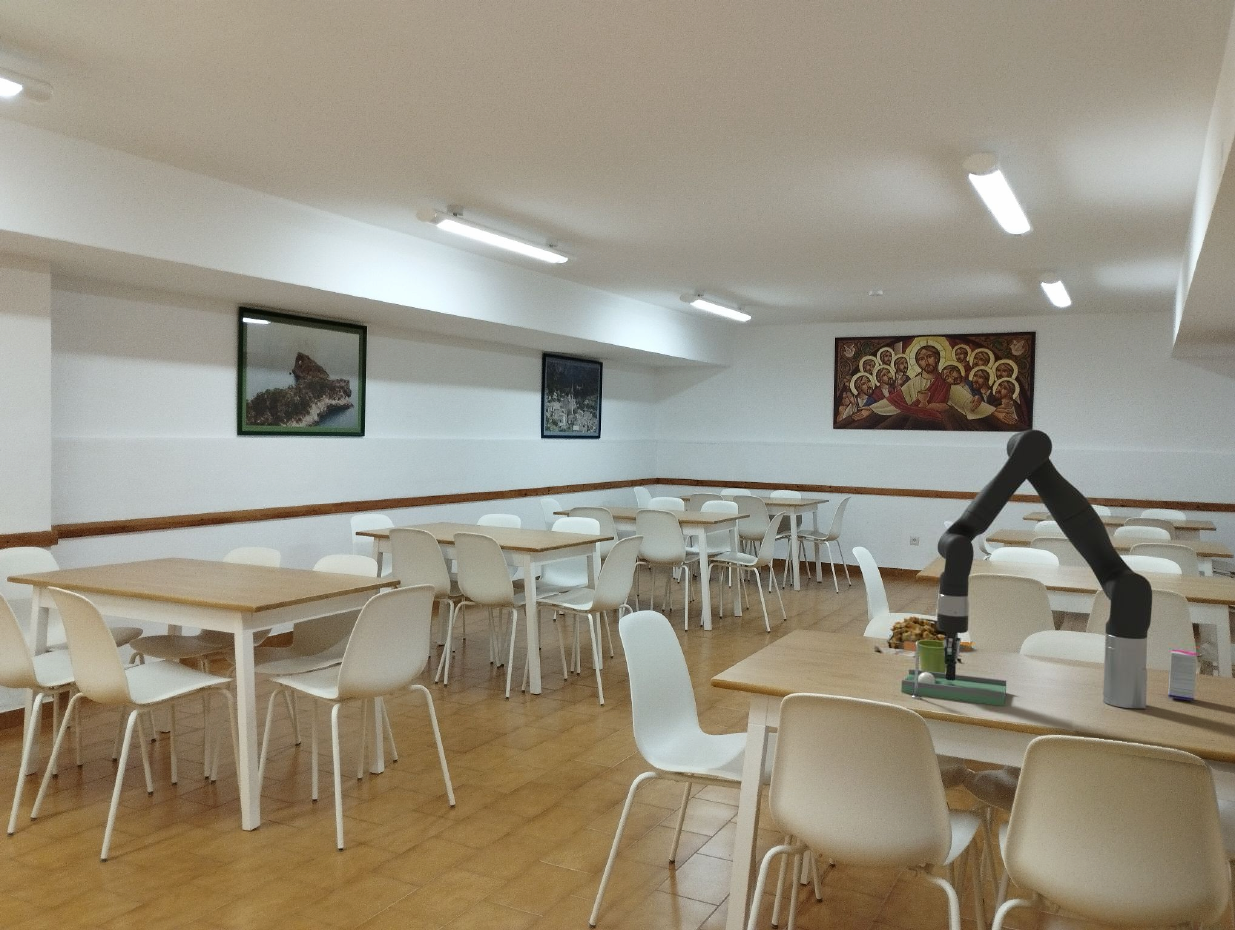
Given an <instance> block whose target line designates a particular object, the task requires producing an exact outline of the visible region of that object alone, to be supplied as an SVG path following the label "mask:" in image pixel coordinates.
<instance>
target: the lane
mask: <svg viewBox="0 0 1235 930" xmlns="http://www.w3.org/2000/svg"><path fill="white" fill-rule="evenodd" d="M924 672H928V673H931V674H932V675H933V676H934V678H935V684H932V683H924V682H918V695H920V696H924V695H926V697H932V698H933V697H934V698H939V699H940V698H941V699H946V700H953V701H960V700H961V701H962V702H969V703H977V704H983V703H986V705H993V706H999V707H1004V706H1005V699H1006V695H1007V680H1006V679H999V678H990V677H989V678H988V677H978V676H971V675H964V674H956V677H955V680H954V681H951V680H947V679H946V672H945V673H939V672H931V671H922V670H921V669H919V671H918V677H919V675H920V674H921V673H924ZM900 691H901V693H903V692H904V693H905V694H910V695H914V691H915V668H908V675H907V676H906V678H905V679H901V689H900ZM961 701H960V702H961Z"/></svg>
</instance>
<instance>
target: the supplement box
mask: <svg viewBox="0 0 1235 930" xmlns="http://www.w3.org/2000/svg"><path fill="white" fill-rule="evenodd" d="M1197 656H1198V655H1197V652H1195V651H1189V650H1188V651H1187V650H1179V649H1173V648H1172V649H1171V651H1170V662H1169V664H1170V665H1169V676H1168V678H1169V679H1168V692H1167V693H1168V694H1167V695H1168V696H1167V697H1168V698H1173V699H1181V700H1188V701H1194V700H1195V694H1196V693H1195V691H1196V690H1195V689H1196V679H1197V678H1196V676H1197V663H1198V662H1197V660H1198V658H1197Z"/></svg>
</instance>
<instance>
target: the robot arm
mask: <svg viewBox="0 0 1235 930" xmlns="http://www.w3.org/2000/svg"><path fill="white" fill-rule="evenodd" d="M1052 450H1053V443H1052V440H1051V438H1050V436H1049V435H1048V434H1047V433H1045V432H1044V431H1043V430H1039V429H1027V430H1023V431H1020V432H1017V433H1015V434H1013V435H1012V436H1011V437H1010V438H1009V439H1008V441H1007V444H1006V453H1007V456H1008V458H1007V459H1006V461H1005V463H1004V465H1003V466H1002V467H1001V469H1000V470H999V471H998V472H997V473H996V475H995V476H994V477H993V478H992V479H991V480H990V481H989V482H988V483H987V484H986V485H985V486H984V487H983V488H982V489H981V490H980V491H979V492H978V493H976V494H977V495H975V496H974V498H973V500H971V502H970V503H969V505H967V507H966V509H965V510H964V511H963V513H962V514H961V516H959V518H958V519H956V520H955V521H954V522H953V523H952V524H951V525H950V526H949V527H948V528H947V529H946V530H945V531H944V533H943V534H942V535H941V536H940V538H939V540H938V542H937V552H938V555H940V557H941V558H943V559H944V561H945V563H944V570H943V571H942V572H941V573H940V575H939V581H938V583H939V587H938V599H937V614H936V616H937V617H936V621H937V629H938V630H940V631H945V632H946V633H947V635H946V636H944V638H943V645H944V656H945V664H946V671H945V673H946V679H947V680H951V681H954V680H955V677H956V675H957V674H956V673H957V669H956V668H957V664H958V661H957V660H958V658H959V655H960V650H959V649H960V646H961V645H960V643H961V640H962V638H961V637H959V634H965V633H967V632H968V631H969V616H970V615H969V613H970V612H969V611H970V609H969V608H970V604H969V577H970V574H971V571H972V567H973V562H974V553H975V551H974V545H973V543H972V542H973V540H974V539H975V538H976V537H977V536H980V535H983V534H984V533H985V532H986V531H987V530H988V529H989V527H990V526H991V525H992V523H993V522H994V521H995V520H996V518H998V516H999V514H1000V513H1001V511H1002V510H1003V509H1004V507H1005V506H1006V505H1007V503H1008V502H1009V501H1010V499H1011V498H1012V497H1013V496H1014V494H1015V493H1016V492H1017V491H1018V490H1019V488H1020V487H1021V486H1022V484H1023V483H1025V482H1026V480H1027V481H1028V482H1029V484H1030V485H1031V486H1032V487H1033V489H1034V490H1035V492H1036V493H1037V495H1038V497H1039V499H1040V501H1041V502H1042V503H1043V504H1044V506H1045V508H1046V509H1047V511H1048V512H1049V513H1050V515H1051V516H1052V518H1053V520H1054V521H1055V524H1057V526H1058V527H1059V529H1060V530H1061V531H1062V533H1063V534H1064V535H1065V537H1066V538H1067V540H1069V542H1070V544H1071V545H1072V546H1073V547H1074V548H1075V550H1076V551H1077V552H1078V553H1079V555H1081V557H1082V558H1083V559H1084V560H1085V562H1086V563H1087V564H1088V566H1089V567H1090V569H1091V571H1092V572H1093V574H1094V576H1095V577H1096V579H1097V582H1098V583H1099V585H1100V587H1101V589H1102V591H1103V592H1104V594H1105V596H1106V598H1107V599H1108V600H1109V601H1110V608H1109V618H1108V620H1107V621H1106V623H1105V631H1104V632H1105V633H1104V634H1105V637H1104V638H1105V639H1104V661H1103V664H1104V665H1103V687H1102V688H1103V691H1102V702H1103V703H1105V704H1108V705H1110V706H1113V707H1120V708H1125V709H1147V705H1146V704H1147V685H1148V684H1147V681H1148V670H1147V657H1148V656H1147V655H1148V631H1149V628H1150V626H1151V622H1152V611H1153V610H1152V609H1153V588H1152V585H1151V583H1150V581H1149V580H1148V579H1147V578H1146V577H1145V576H1143V575H1142V574H1140V573H1137V572H1135V571H1134V570H1133V569H1131V567H1130V566H1129V565H1128V564H1127V562H1125V560H1124V559H1123V558H1122V557H1121V555H1120V554H1119V553H1118V552H1117V549H1115V547H1114V545H1113V543H1112V541H1111V537H1110V535H1109V534H1108V531H1107V529H1106V526H1105V524H1104V522H1103V519H1101V517H1100V515H1099V514H1098V512H1097V511H1096V509H1095V508H1094V507H1093V506H1092V504H1091V502H1090V501H1089V500H1088V499H1087V498H1086V496H1085V495H1084V494H1083V493H1082V492H1081V491H1080V490H1079V489H1078V488H1076V487H1075V486H1074V485H1073V484H1072V483H1071V482H1069V481H1068V480H1067V479H1066V478H1065V477H1063V475H1062V474H1061V473H1060V472H1059V471H1058V469H1057V468H1056V467H1055V465H1054V463H1053V461H1052V460H1051V459H1050V457H1051V454H1052Z"/></svg>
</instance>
